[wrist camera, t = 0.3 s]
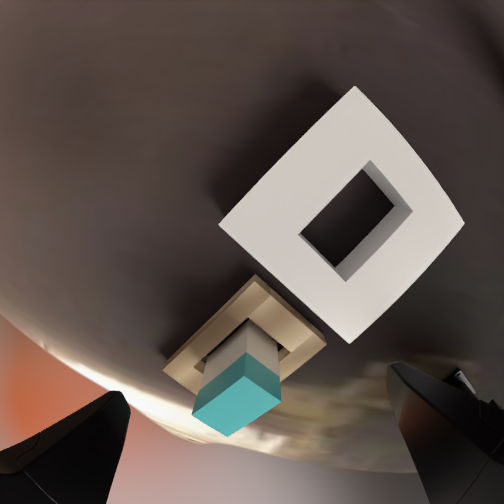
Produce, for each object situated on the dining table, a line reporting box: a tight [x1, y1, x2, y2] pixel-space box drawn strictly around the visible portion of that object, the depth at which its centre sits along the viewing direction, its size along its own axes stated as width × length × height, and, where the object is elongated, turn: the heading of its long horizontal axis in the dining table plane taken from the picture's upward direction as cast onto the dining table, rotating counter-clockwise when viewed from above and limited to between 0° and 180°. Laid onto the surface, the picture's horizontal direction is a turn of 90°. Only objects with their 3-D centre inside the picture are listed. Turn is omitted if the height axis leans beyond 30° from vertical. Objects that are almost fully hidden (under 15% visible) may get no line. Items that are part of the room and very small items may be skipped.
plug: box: [192, 320, 281, 437], centre depth 20 cm, size 3×5×7 cm, turn 137°
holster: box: [163, 274, 327, 395], centre depth 22 cm, size 7×11×2 cm
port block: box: [218, 86, 465, 344], centre depth 19 cm, size 12×12×3 cm
